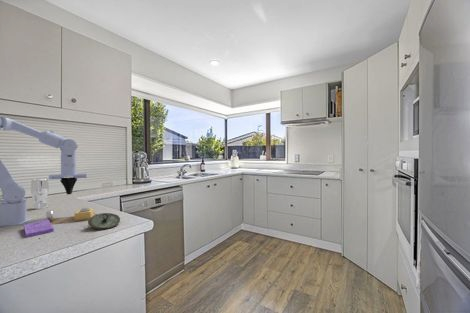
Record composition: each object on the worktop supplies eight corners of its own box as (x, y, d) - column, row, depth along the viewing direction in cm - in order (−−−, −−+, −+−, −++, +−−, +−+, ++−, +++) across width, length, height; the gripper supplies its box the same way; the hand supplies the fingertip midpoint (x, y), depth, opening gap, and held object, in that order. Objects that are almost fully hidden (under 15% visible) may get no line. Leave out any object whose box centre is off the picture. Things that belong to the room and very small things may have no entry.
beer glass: (28, 208, 111) (28, 180, 111) (45, 205, 117) (44, 178, 117) (34, 210, 107) (33, 180, 107) (51, 207, 114) (50, 179, 114)
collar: (74, 220, 86) (74, 213, 86) (79, 217, 91) (79, 210, 91) (90, 219, 88) (90, 211, 88) (94, 215, 93) (94, 208, 93)
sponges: (48, 223, 82) (48, 219, 82) (54, 232, 74) (53, 227, 74) (23, 229, 77) (23, 224, 77) (26, 239, 69) (25, 233, 69)
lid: (114, 220, 88) (114, 208, 88) (124, 224, 82) (124, 212, 82) (84, 227, 80) (84, 214, 80) (93, 233, 73) (93, 218, 73)
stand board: (32, 228, 80) (31, 215, 80) (45, 220, 89) (45, 209, 89) (91, 221, 86) (91, 210, 86) (97, 215, 96) (97, 205, 96)
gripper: (45, 165, 92) (45, 196, 92) (84, 164, 97) (85, 194, 97) (52, 165, 99) (53, 194, 99) (88, 164, 104) (89, 191, 104)
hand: (69, 194), depth 98 cm, fingers closed
